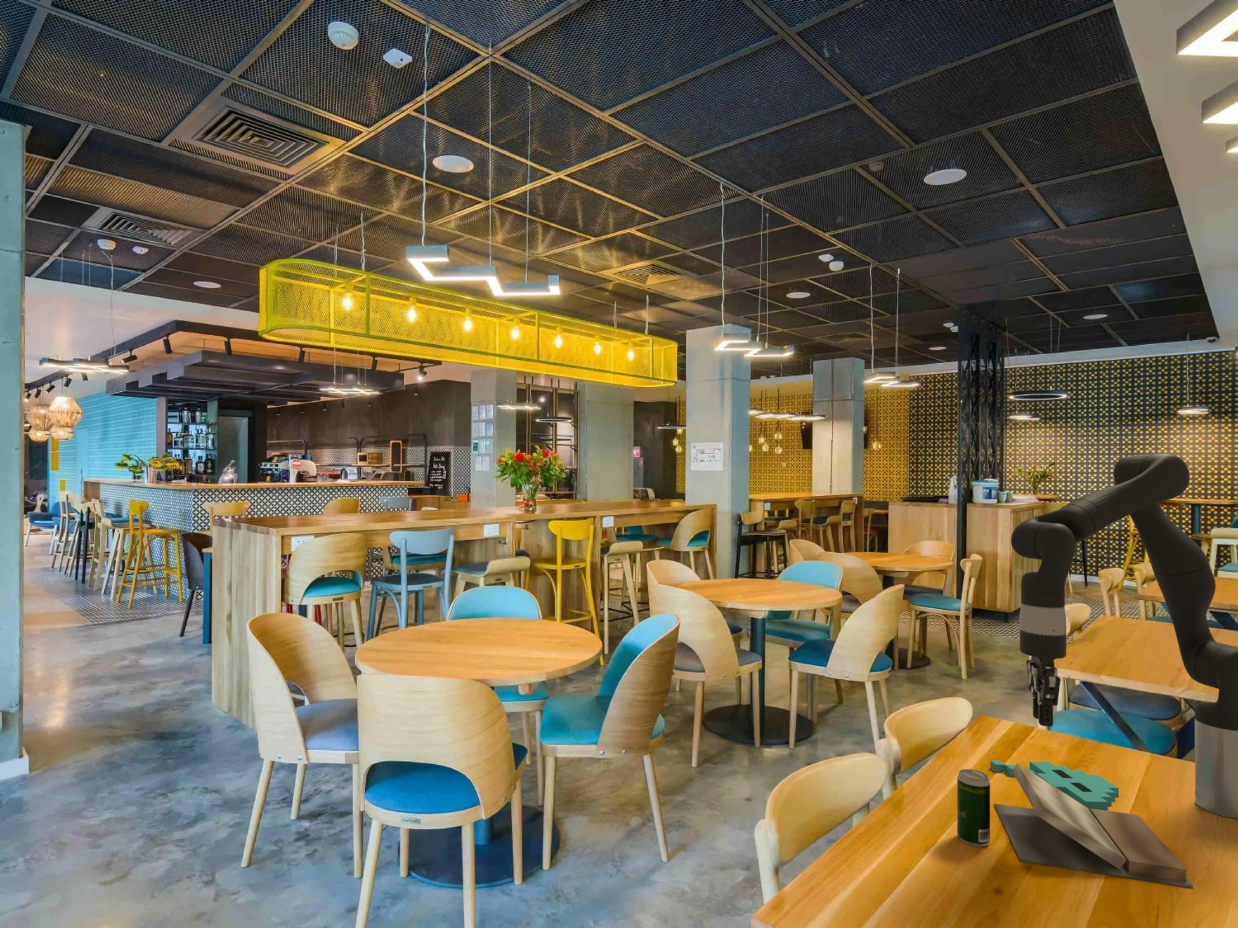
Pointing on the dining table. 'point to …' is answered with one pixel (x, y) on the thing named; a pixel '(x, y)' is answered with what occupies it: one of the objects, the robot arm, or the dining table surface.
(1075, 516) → the robot arm
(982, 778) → the beer can
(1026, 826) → the floor base
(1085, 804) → the alien figure
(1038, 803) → the beige flat slab
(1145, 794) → the dining table surface
